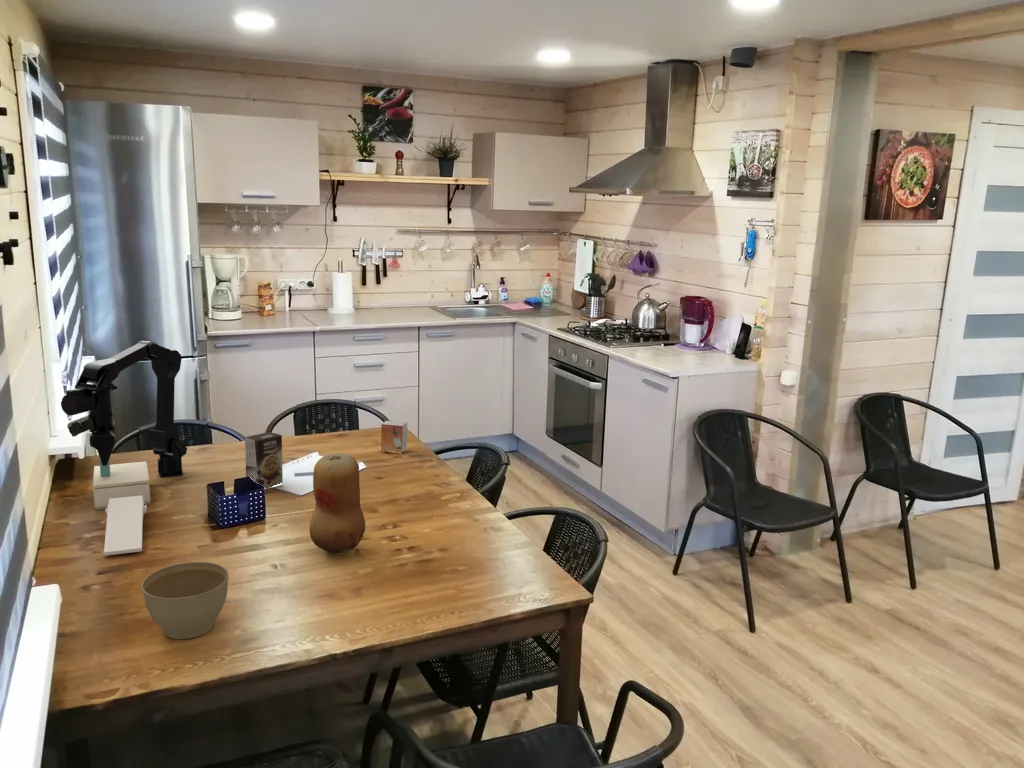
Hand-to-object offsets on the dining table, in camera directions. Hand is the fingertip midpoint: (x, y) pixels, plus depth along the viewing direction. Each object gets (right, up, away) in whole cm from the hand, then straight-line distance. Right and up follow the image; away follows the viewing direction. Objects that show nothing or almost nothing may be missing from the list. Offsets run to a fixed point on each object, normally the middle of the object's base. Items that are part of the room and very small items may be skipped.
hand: (104, 460), depth 228 cm
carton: (+3, -11, +4) cm, 12 cm away
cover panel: (+3, -5, +3) cm, 6 cm away
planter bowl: (+50, -28, -66) cm, 87 cm away
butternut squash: (+72, -20, -27) cm, 79 cm away
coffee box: (+40, -10, +17) cm, 45 cm away
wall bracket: (+16, -17, -22) cm, 32 cm away
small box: (+74, -2, +57) cm, 93 cm away
